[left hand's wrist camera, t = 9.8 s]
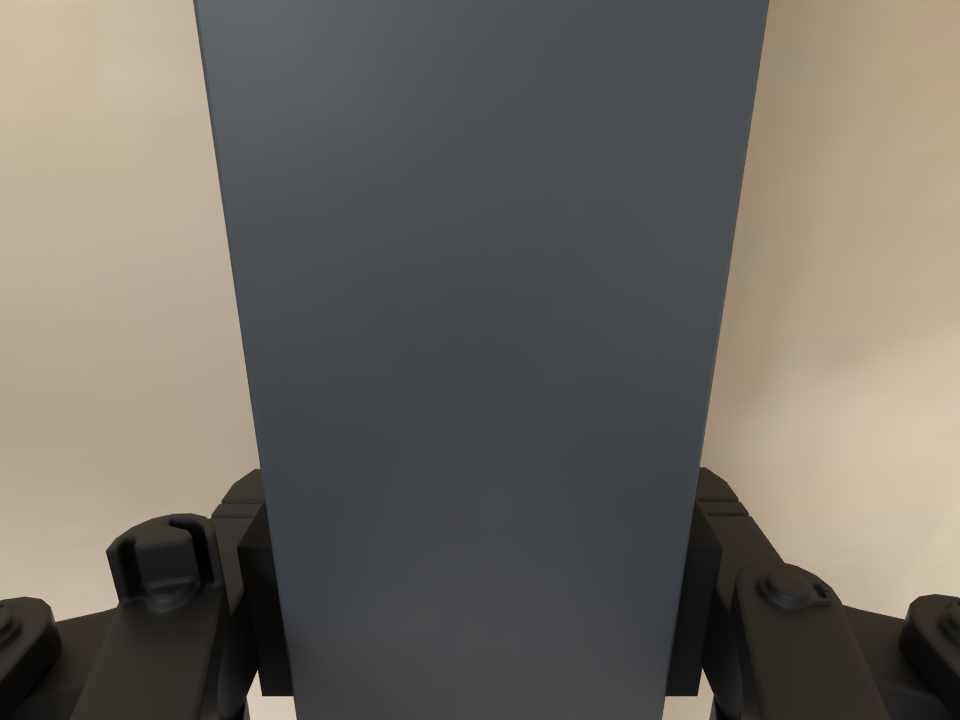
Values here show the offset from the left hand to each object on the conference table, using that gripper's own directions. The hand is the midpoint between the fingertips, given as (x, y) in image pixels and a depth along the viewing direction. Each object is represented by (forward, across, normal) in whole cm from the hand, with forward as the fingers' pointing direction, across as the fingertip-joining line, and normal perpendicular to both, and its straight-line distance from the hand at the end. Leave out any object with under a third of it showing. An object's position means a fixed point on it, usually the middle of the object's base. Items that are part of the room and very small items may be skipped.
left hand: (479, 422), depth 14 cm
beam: (+1, 0, -36) cm, 36 cm away
